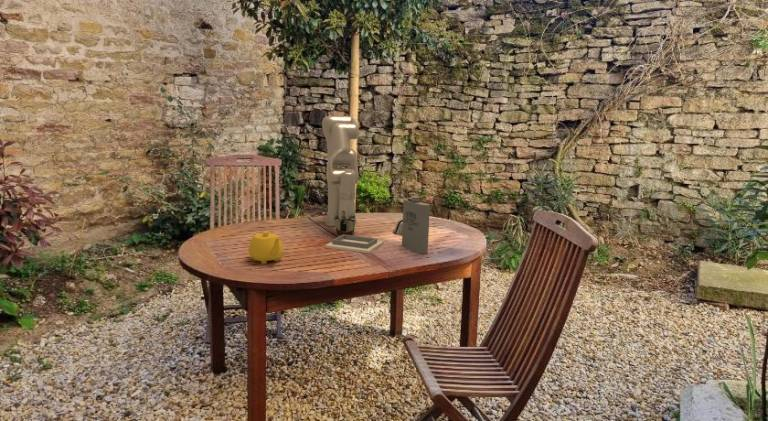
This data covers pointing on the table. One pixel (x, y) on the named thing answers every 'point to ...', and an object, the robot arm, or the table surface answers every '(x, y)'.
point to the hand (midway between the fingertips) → (347, 229)
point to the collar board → (354, 243)
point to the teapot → (265, 247)
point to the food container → (349, 226)
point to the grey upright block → (415, 225)
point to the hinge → (398, 227)
